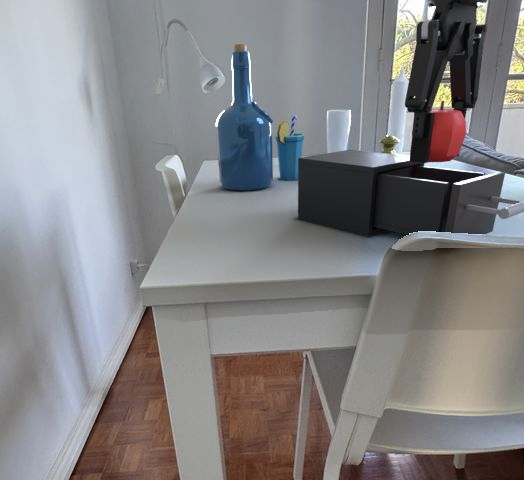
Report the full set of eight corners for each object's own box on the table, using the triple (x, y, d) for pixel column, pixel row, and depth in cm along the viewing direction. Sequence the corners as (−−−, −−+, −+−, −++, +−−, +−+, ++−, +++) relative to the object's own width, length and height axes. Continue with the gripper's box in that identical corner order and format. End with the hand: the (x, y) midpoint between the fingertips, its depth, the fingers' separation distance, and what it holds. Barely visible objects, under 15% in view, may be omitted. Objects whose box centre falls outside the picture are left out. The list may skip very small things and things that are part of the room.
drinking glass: (350, 167, 139) (353, 110, 131) (327, 168, 138) (329, 111, 131) (344, 163, 145) (347, 109, 137) (323, 164, 144) (324, 110, 137)
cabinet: (417, 220, 85) (425, 157, 80) (368, 236, 78) (374, 167, 72) (346, 206, 96) (349, 149, 91) (297, 218, 89) (298, 157, 84)
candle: (404, 164, 141) (414, 66, 129) (406, 167, 135) (417, 66, 123) (379, 164, 142) (388, 68, 130) (380, 167, 136) (389, 67, 124)
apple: (421, 165, 68) (430, 102, 64) (398, 158, 74) (404, 101, 71) (472, 162, 69) (484, 100, 65) (445, 155, 76) (454, 99, 72)
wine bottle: (218, 192, 112) (207, 43, 97) (221, 182, 124) (212, 47, 109) (275, 190, 112) (273, 41, 97) (273, 180, 124) (271, 45, 109)
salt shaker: (406, 177, 122) (411, 135, 117) (386, 181, 118) (390, 138, 113) (384, 174, 127) (388, 133, 122) (365, 177, 124) (368, 136, 119)
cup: (283, 173, 133) (282, 114, 126) (309, 173, 131) (311, 113, 124) (269, 182, 122) (268, 118, 114) (298, 183, 120) (299, 117, 112)
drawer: (533, 239, 71) (549, 177, 66) (491, 258, 64) (506, 191, 59) (409, 214, 85) (415, 162, 81) (364, 228, 78) (368, 172, 74)
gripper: (475, -20, 68) (449, 149, 80) (388, -36, 57) (371, 164, 68) (528, -29, 63) (492, 153, 75) (444, -49, 52) (416, 169, 63)
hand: (434, 158), depth 71 cm, fingers closed on apple, 8 cm apart
